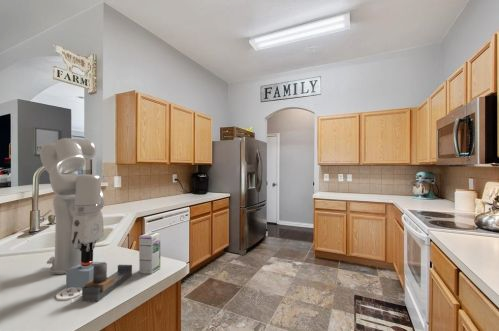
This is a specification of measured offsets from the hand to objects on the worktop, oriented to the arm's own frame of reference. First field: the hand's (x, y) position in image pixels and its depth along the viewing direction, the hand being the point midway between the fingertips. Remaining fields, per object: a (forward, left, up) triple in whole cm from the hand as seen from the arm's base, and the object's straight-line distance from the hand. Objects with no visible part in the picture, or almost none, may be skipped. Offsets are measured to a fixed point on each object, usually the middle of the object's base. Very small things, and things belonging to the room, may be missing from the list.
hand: (87, 261), depth 82 cm
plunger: (0, 0, -4) cm, 4 cm away
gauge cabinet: (0, 0, -8) cm, 8 cm away
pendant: (+1, -8, -8) cm, 11 cm away
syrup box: (+17, +12, -8) cm, 22 cm away
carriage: (+10, -7, -5) cm, 13 cm away
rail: (+10, -2, -8) cm, 13 cm away
